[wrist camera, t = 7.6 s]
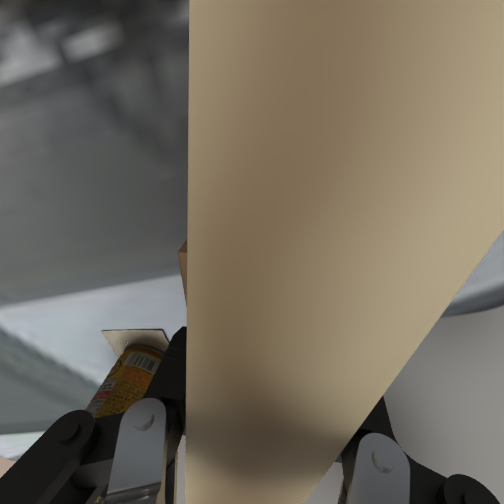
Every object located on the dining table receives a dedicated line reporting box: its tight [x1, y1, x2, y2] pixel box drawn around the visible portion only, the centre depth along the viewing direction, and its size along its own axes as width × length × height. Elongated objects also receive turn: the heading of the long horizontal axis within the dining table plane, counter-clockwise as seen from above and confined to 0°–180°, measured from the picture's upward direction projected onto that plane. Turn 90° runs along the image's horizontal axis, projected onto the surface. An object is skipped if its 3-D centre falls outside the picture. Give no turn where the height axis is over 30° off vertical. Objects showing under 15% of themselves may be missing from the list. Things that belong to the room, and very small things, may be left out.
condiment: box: [85, 330, 169, 504], centre depth 26 cm, size 7×8×12 cm
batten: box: [185, 0, 504, 504], centre depth 10 cm, size 4×22×4 cm, turn 172°
